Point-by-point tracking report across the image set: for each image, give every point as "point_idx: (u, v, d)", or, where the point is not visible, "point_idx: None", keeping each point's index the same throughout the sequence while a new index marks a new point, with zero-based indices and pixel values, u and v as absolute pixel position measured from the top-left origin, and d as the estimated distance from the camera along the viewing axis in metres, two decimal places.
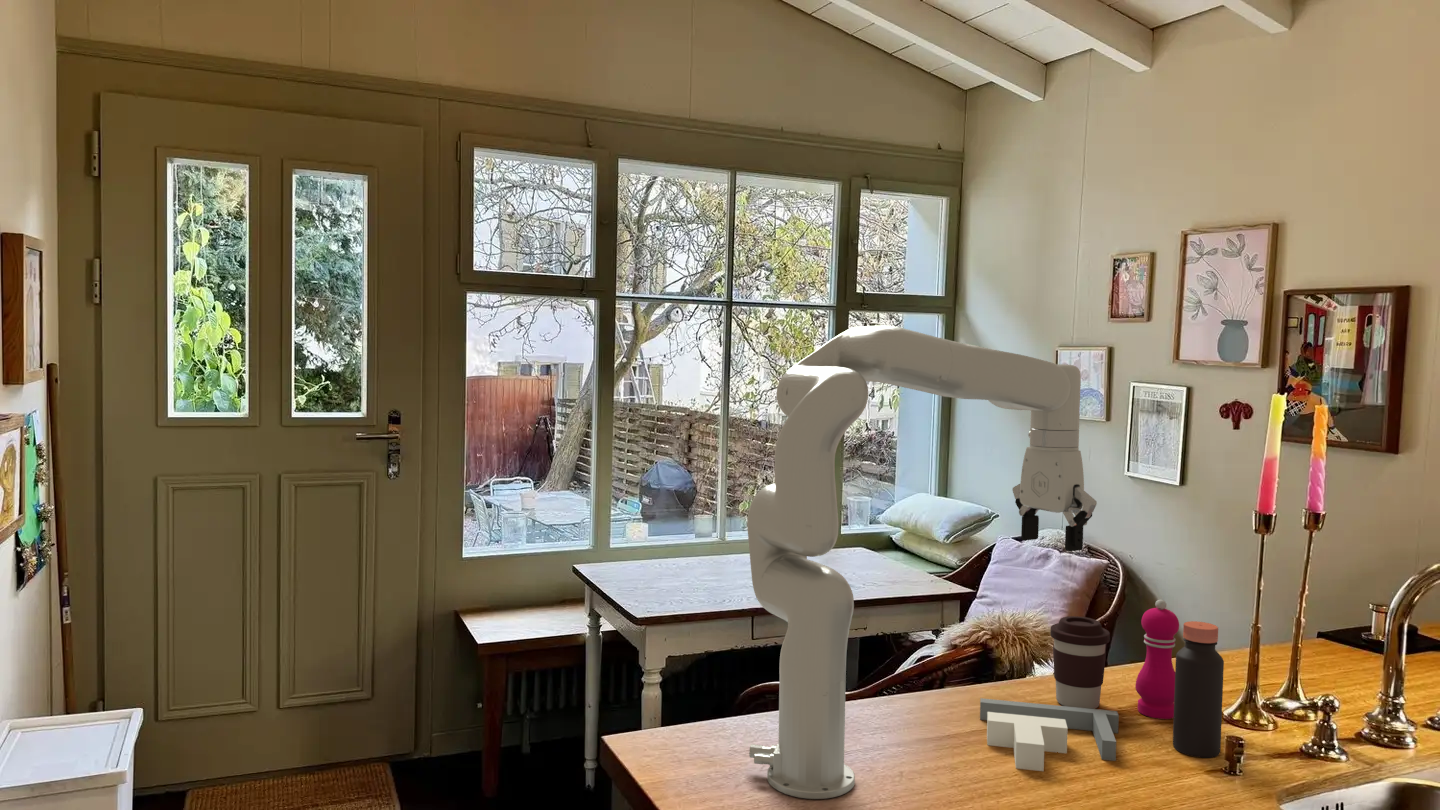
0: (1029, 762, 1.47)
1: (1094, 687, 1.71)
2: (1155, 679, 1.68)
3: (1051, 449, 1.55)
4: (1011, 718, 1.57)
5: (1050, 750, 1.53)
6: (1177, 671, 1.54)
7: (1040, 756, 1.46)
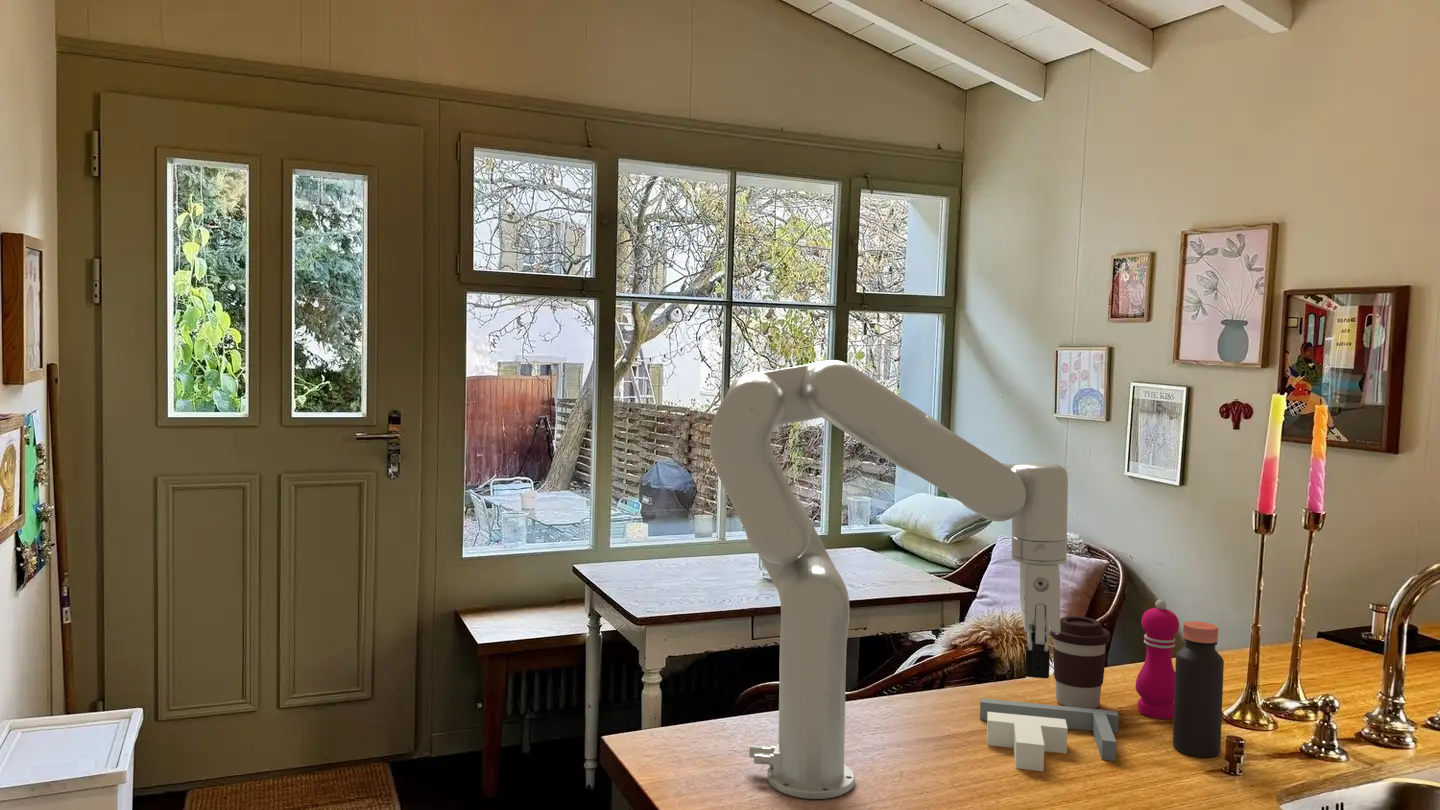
0: (1029, 762, 1.47)
1: (1094, 687, 1.71)
2: (1155, 679, 1.68)
3: None
4: (1011, 718, 1.57)
5: (1050, 750, 1.53)
6: (1177, 671, 1.54)
7: (1040, 756, 1.46)
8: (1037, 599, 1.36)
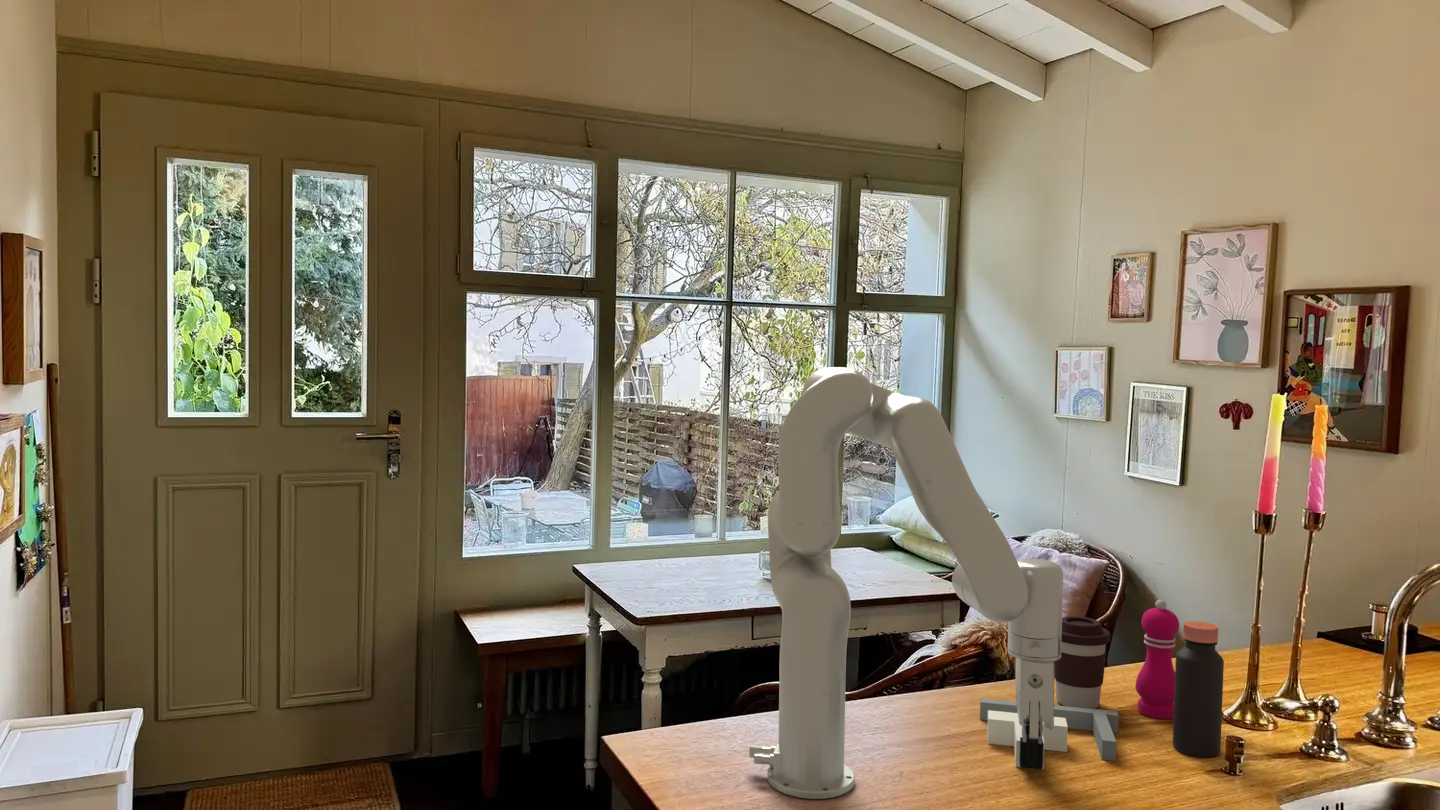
0: None
1: (1094, 687, 1.71)
2: (1155, 679, 1.68)
3: None
4: (1011, 717, 1.57)
5: (1050, 748, 1.54)
6: (1177, 671, 1.54)
7: None
8: (1031, 695, 1.40)
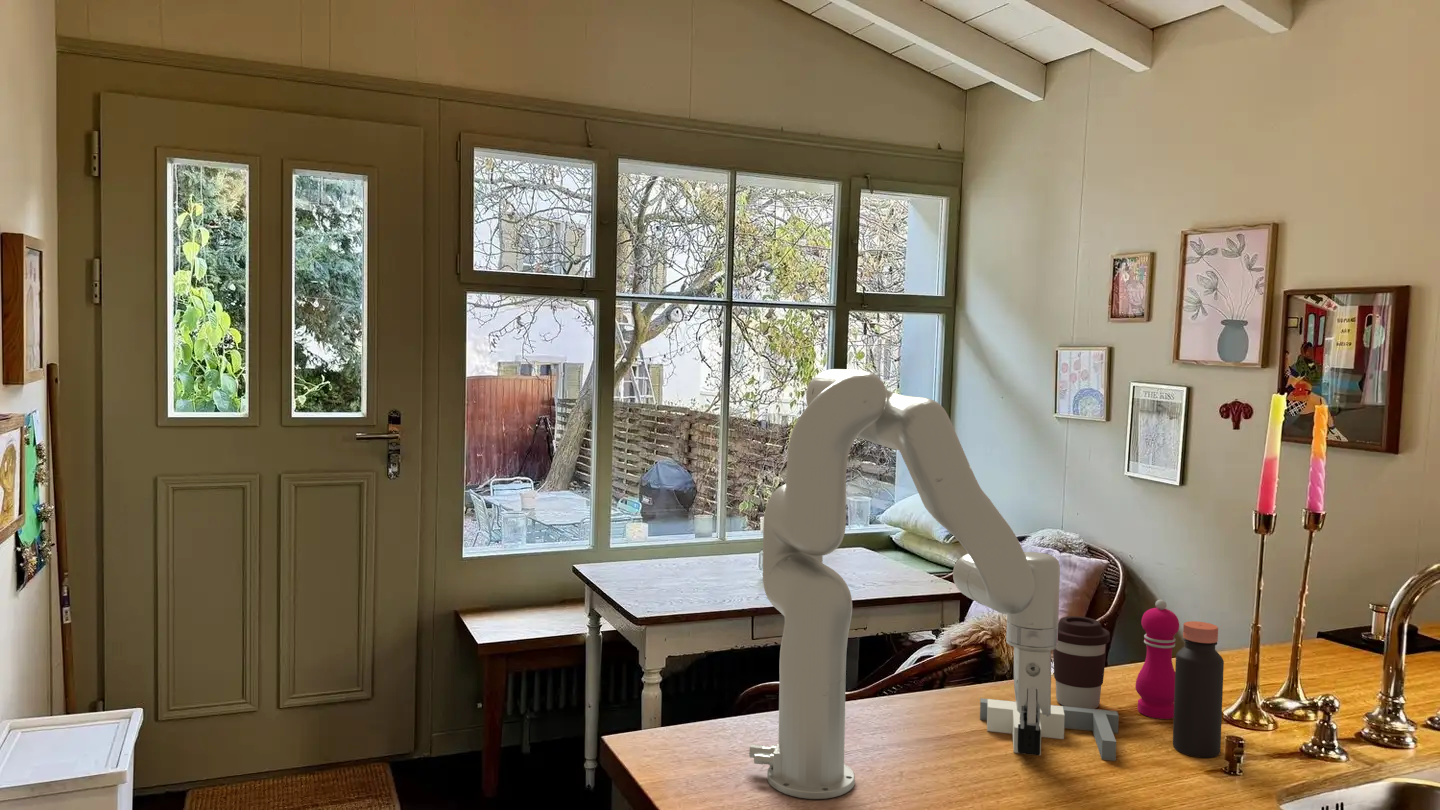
0: None
1: (1094, 687, 1.71)
2: (1155, 679, 1.68)
3: None
4: (1010, 705, 1.62)
5: (1048, 736, 1.59)
6: (1177, 671, 1.54)
7: None
8: (1029, 683, 1.45)
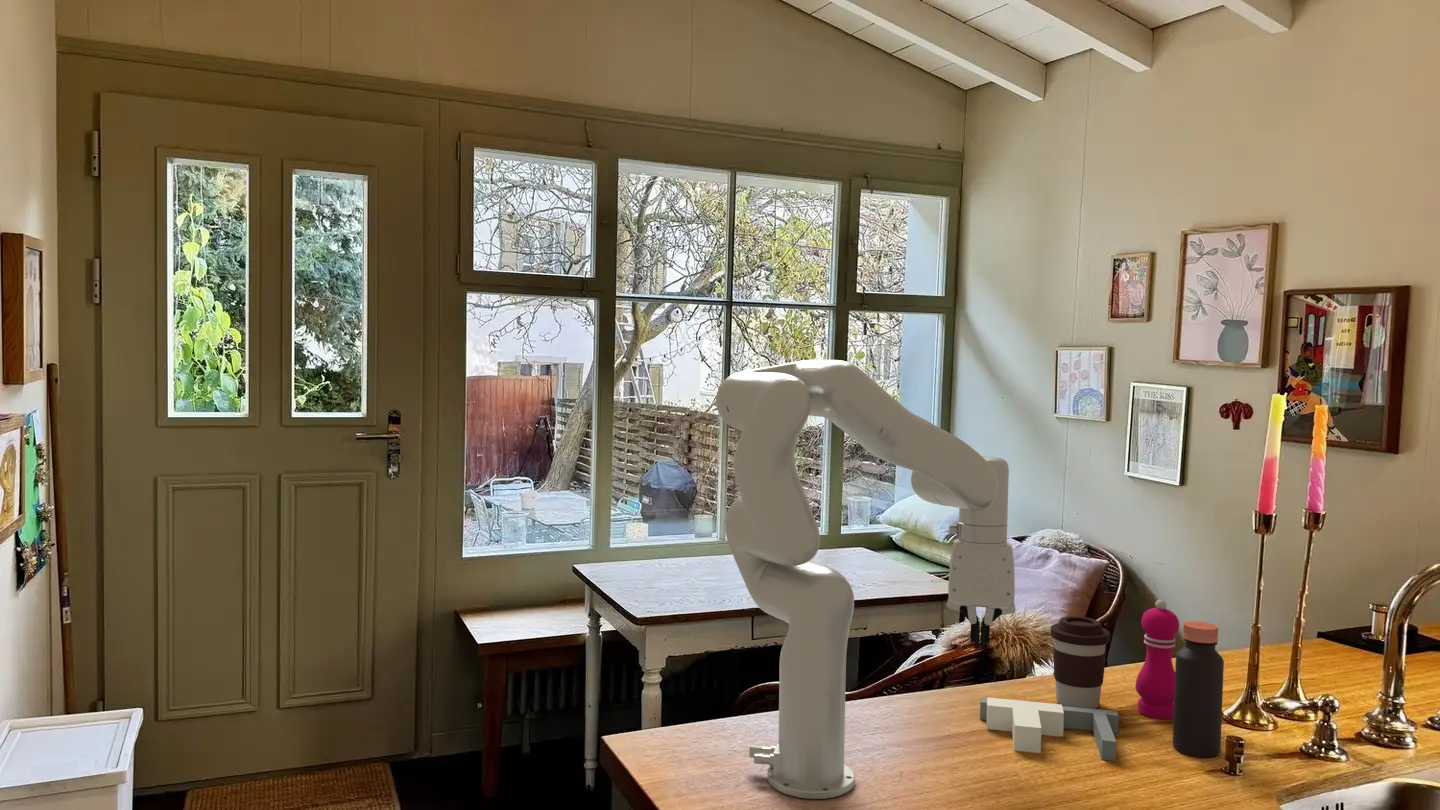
0: (1027, 745, 1.53)
1: (1094, 687, 1.71)
2: (1155, 679, 1.68)
3: (998, 545, 1.53)
4: (1010, 703, 1.63)
5: (1047, 734, 1.60)
6: (1177, 671, 1.54)
7: (1038, 738, 1.53)
8: None
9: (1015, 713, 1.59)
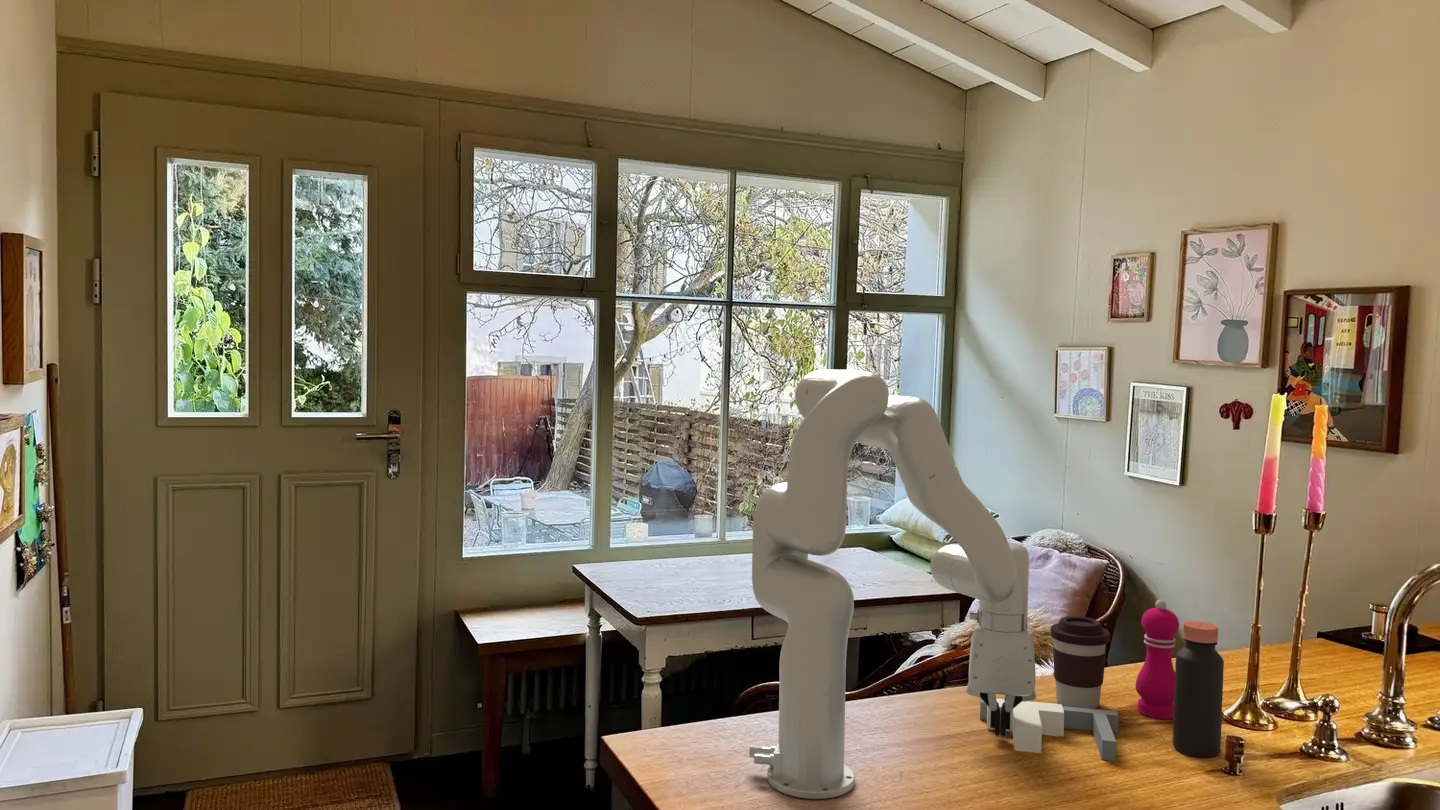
0: (1027, 745, 1.53)
1: (1094, 687, 1.71)
2: (1155, 679, 1.68)
3: (1019, 634, 1.54)
4: None
5: (1047, 733, 1.60)
6: (1177, 671, 1.54)
7: (1038, 738, 1.53)
8: None
9: (1015, 713, 1.59)
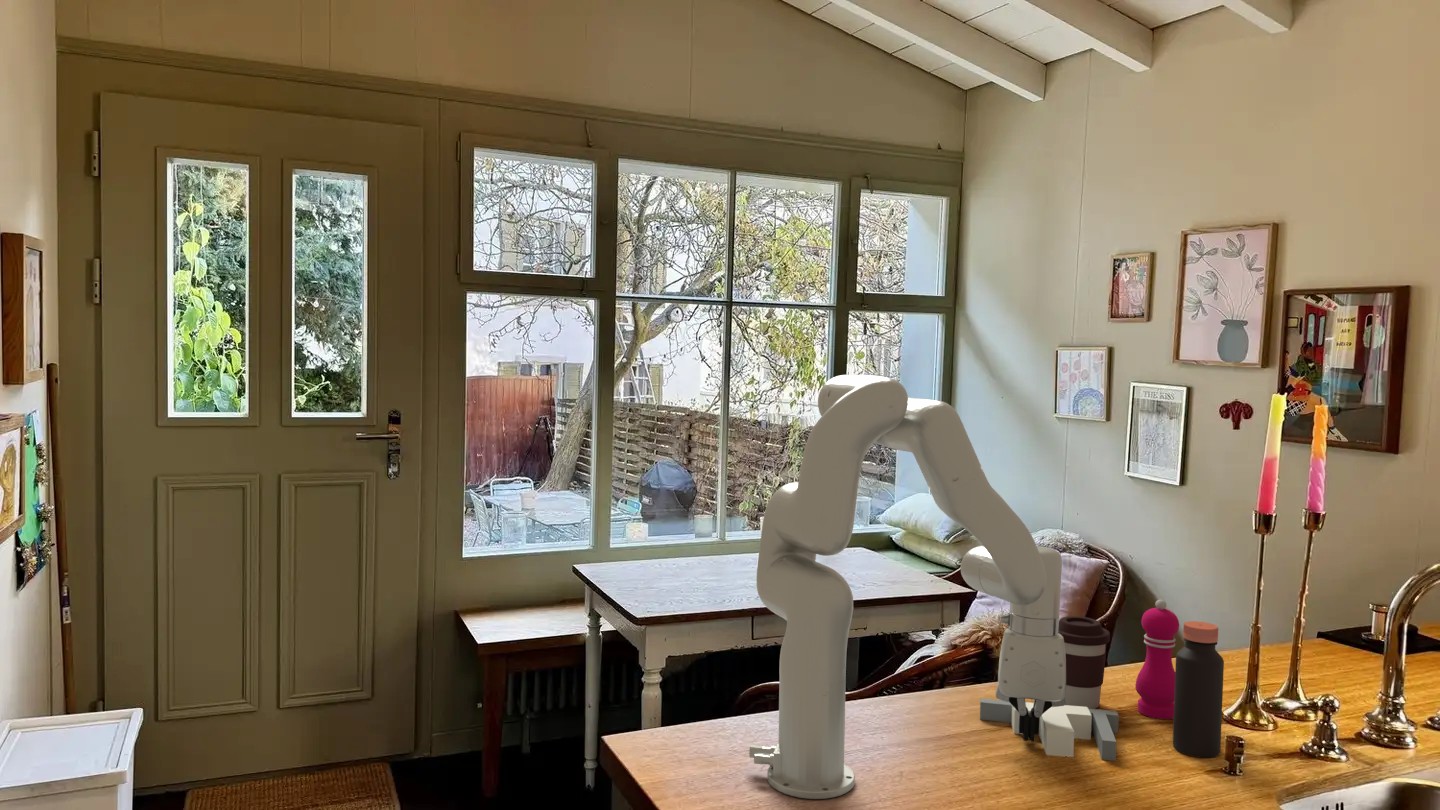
0: (1059, 749, 1.52)
1: (1094, 687, 1.71)
2: (1155, 679, 1.68)
3: (1050, 638, 1.52)
4: None
5: (1075, 737, 1.59)
6: (1177, 671, 1.54)
7: (1070, 742, 1.51)
8: (999, 658, 1.57)
9: (1044, 717, 1.57)
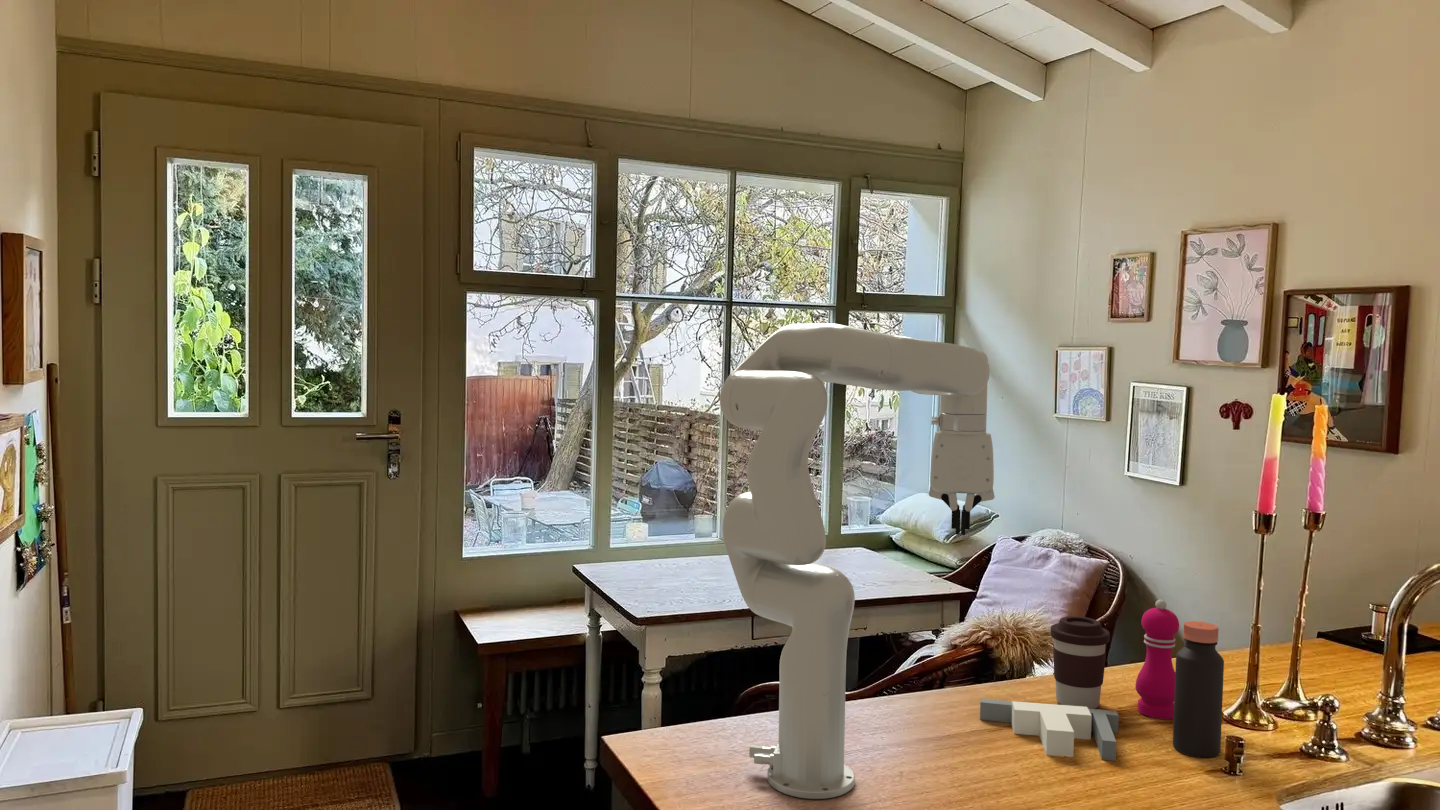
0: (1059, 749, 1.52)
1: (1094, 687, 1.71)
2: (1155, 679, 1.68)
3: (977, 433, 1.60)
4: (1036, 707, 1.62)
5: (1075, 737, 1.59)
6: (1177, 671, 1.54)
7: (1070, 742, 1.51)
8: None
9: (1044, 717, 1.57)
